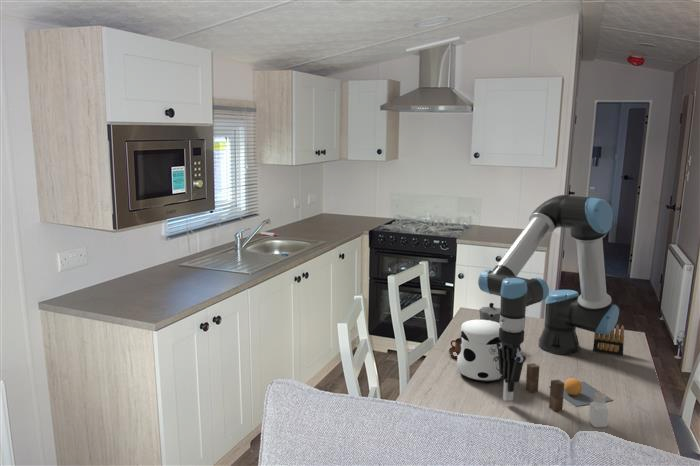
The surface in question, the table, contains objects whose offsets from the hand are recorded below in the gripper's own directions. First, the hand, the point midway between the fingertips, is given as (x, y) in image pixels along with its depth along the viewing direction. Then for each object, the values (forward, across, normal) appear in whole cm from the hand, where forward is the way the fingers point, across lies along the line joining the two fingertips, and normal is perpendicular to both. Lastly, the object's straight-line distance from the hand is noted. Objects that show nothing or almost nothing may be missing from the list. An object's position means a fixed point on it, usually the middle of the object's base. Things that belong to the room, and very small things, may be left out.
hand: (507, 399), depth 177 cm
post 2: (+2, +6, +13) cm, 15 cm away
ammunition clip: (+2, -26, +60) cm, 65 cm away
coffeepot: (+2, -46, +20) cm, 50 cm away
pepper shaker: (+2, +18, +19) cm, 26 cm away
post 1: (+2, -6, +13) cm, 15 cm away
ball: (-1, 0, +24) cm, 24 cm away
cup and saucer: (+2, -39, +5) cm, 39 cm away
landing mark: (+2, 0, +27) cm, 27 cm away
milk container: (+2, -22, +3) cm, 22 cm away
